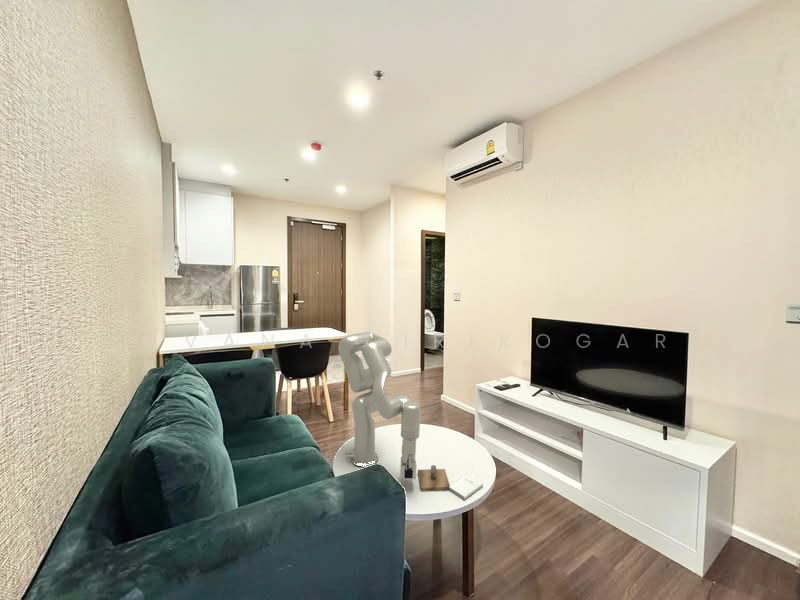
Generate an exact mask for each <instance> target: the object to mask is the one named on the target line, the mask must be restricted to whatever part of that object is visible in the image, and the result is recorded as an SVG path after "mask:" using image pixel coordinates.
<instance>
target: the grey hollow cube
mask: <svg viewBox="0 0 800 600" xmlns="http://www.w3.org/2000/svg"><path fill="white" fill-rule="evenodd" d="M407 461H408V460H407ZM408 465H409V463H407V466H408ZM399 466H400V468H399V471H400V473H399V474H400V480H417V479H416V477H417V460H416V459H415V462H414V463H413V478H405V468H406V463H403V461H402V456H400V465H399Z"/></svg>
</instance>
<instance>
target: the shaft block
mask: <svg viewBox="0 0 800 600" xmlns="http://www.w3.org/2000/svg"><path fill="white" fill-rule="evenodd" d="M417 475H418V476H417V477H418V482H419V487H420V488H419V489H420V492H437V491H438V492H439V491H441V492H443V491H449V487H450V486H451V485H450V482H449V478H448V475H447V471H446V469H445V468H437V466H436V465H434V464H433V465H431V466H430V469H417Z"/></svg>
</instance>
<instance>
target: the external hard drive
mask: <svg viewBox="0 0 800 600" xmlns="http://www.w3.org/2000/svg"><path fill="white" fill-rule="evenodd" d="M482 487H484V482H482V481H480V480H478V479H477V478H475V477H473V476H471V475H469V474H466V475H464V476H463V477H461V478H459V479H458V480H456V481H455V482H453V483H452V484H451V485H450V487H449V490H448V491H450V492H451V493H452V494H454V495H456V497H458V498H460V499H461V500H462V501H466V500H467V499H468V498H470V496H472V495H473V494H474V493H476V492H477V491H478V490H480V489H481V488H482Z"/></svg>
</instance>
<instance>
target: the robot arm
mask: <svg viewBox="0 0 800 600" xmlns="http://www.w3.org/2000/svg"><path fill="white" fill-rule="evenodd" d="M337 347H338V354H339V356H340V359H341V362H343V363H342V364H343V365H344V369H345V373H346V377H347V380H348V385H349V388H350V389H351V391H352V392H353V393H361V392H364V391H367V390H369V391H368V392H365V393H363V394H360V395H358V396H356V397H355V398H354V399H353V401H352V403H351V410H352V415H353V423H354V425H353V427H354V428H353V429H354V449H351V450H345V451H344V453H345V456H346V458H347V459H348V458H351V459H350V460H352V461H351V463H352V462H353V463H355V464H357V463H363V464H364V463H366V464H369V463H368V462H371V461H375V462H376V461H377V460H378V461H379V455H378V453H376V428H375V427H376V425H375V424H376V423H375V421H374V419H373V417H372V415H373V413H376V412H379V415H380V416H381V417H382V418H384V419H386V420H390V419H394V418H395V417H397V416H399V415H400V416H401V422H400V424H401V425H400V436H401V438H402V442H401V444H402V445H401V457H402V461H403V463H406V468H405V478H413V463H414V462H415V460H416V450H417V440H418V439H419V437H420V427H421V405H420V403H419V402H417V401H415V400H413V399H411V398H409V396H407V395H406V394H403V393H401V394H400V393H399V394H397V395H394V396H392V397H389V398H387V394H386V390H385V388H384V385H385V382H386V380H387V378H388V377H390V375H391V373H392V368H391V366H390V364H389V363H388V360H387V358H386V357H389V356H391V354H392V352H393V351H392V350H393V349H392V346H391V343H390V342H389V341H388V340H387V339H386V338H384V337H382V336H380V335H378V334H376V333H373V332H371V331H363V332H359V333H352V334H348V335H345V336H344V337H342V338H341V339H340V340H339V343H338V346H337ZM358 352H361V353H362V356H363V358H364V361H365V363H366V365H367V367H368V368H364V367H365V366H364V363H363V360H362V358H360V356H359V355H358V354H357V353H358ZM407 460H408V461H407ZM378 461H377V462H378ZM353 463H352V464H353ZM371 463H372V462H371ZM407 463H409V465H408V466H407ZM373 464H374V465H375V464H377V463H373ZM369 465H372V464H369ZM369 465H366V466H369ZM362 466H363V465H362ZM372 466H373V465H372ZM363 468H366V467H365V466H364V467H363Z"/></svg>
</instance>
